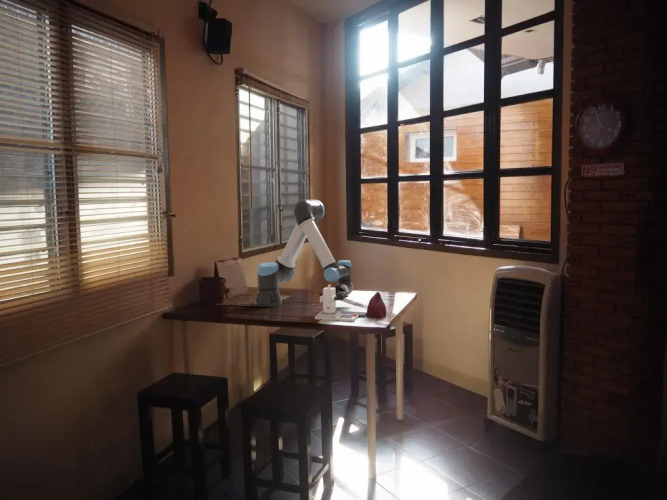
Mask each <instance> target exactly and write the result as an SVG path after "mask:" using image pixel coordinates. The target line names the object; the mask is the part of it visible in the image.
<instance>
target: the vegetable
mask: <svg viewBox="0 0 667 500" xmlns="http://www.w3.org/2000/svg"><path fill="white" fill-rule="evenodd" d="M366 312H367V316H366V317H367V318H369V319H384V318H383V317H385V318H386V317H387V307H386V304H385V302H384V300H383V298H382V295H381V292H380V291H376V292H375V294H374V295H373V296H372V297H371V298H370V300H369V302H368V305H367V308H366Z"/></svg>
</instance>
